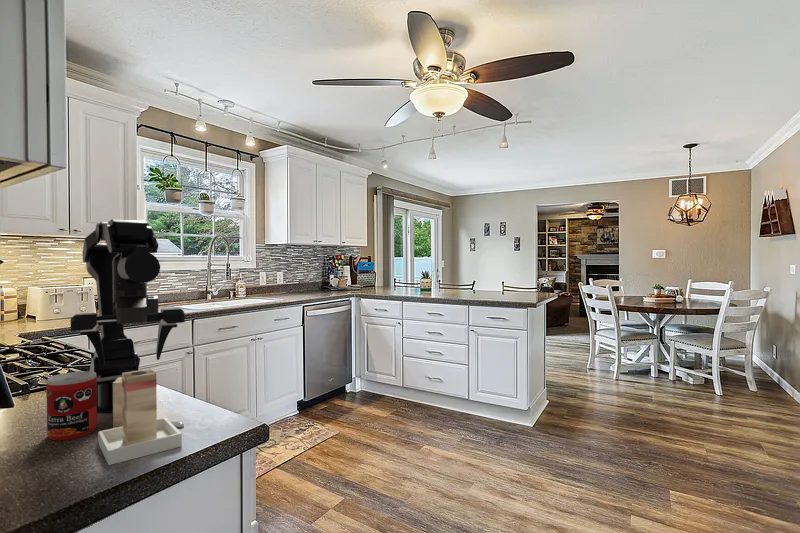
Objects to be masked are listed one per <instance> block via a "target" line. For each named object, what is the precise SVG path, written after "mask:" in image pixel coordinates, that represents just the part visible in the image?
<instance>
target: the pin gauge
mask: <svg viewBox="0 0 800 533" xmlns="http://www.w3.org/2000/svg"><path fill="white" fill-rule="evenodd" d="M170 422H171V423H172V424H173V425H174V426H175V427H176V428H177V429H182V428H184V427H183V426H185V423H184V422H182V421H170ZM181 427H182V428H181Z"/></svg>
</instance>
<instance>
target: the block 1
mask: <svg viewBox="0 0 800 533" xmlns="http://www.w3.org/2000/svg"><path fill="white" fill-rule="evenodd" d="M112 425H113V427H112V429H113V428H117V427H122V426H123V415H122V377H119V378H117V379H116V380H115V381H114V382H113V412H112Z"/></svg>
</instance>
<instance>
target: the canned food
mask: <svg viewBox="0 0 800 533" xmlns="http://www.w3.org/2000/svg"><path fill="white" fill-rule="evenodd" d="M97 378H98V376H96V373H95V372H91V371H88V370H87V371H86V370H84V371H82V370H81V371H72V372H66V373H65V372H64V373H60V374H56V375H54V376H50V377H48V378H47V379H46V433H47V434H46V435H47V437H48V439H50V440H52V441H68V440H69V441H70V440H74V439H78V438H81V437H84V436H87V435H90V434H91V433H93V432H94V431H95V430H96V428H97V426H98V412H97Z"/></svg>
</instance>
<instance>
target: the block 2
mask: <svg viewBox="0 0 800 533" xmlns="http://www.w3.org/2000/svg"><path fill="white" fill-rule="evenodd" d="M157 383H158V382H157V372H156V371H154V370H152V369H151V368H149V369H148V368H147V369H141V370H139V369H138V371H132V372H125V373H122V415H123V443H124V445H125V446H127V445H131V444H136V443H140V442H144V441H148V440H152V439H156V438H157V419H158V418H157V415H158V414H157V413H158V412H157V411H158V410H157V409H158V408H157V406H158V405H157V400H158V399H157V398H158V397H157Z"/></svg>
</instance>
